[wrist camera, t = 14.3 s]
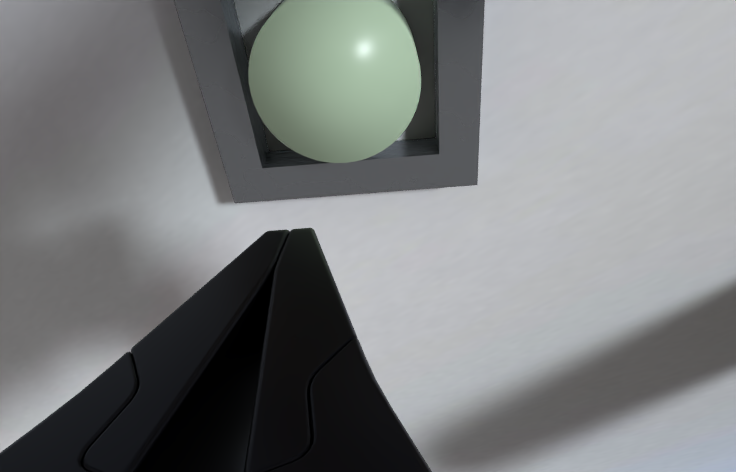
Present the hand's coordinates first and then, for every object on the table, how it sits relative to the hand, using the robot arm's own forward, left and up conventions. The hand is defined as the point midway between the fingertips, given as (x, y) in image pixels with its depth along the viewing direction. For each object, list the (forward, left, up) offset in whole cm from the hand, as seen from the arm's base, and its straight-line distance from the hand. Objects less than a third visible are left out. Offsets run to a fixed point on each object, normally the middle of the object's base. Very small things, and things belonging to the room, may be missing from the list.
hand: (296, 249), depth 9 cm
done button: (0, 0, -11) cm, 11 cm away
